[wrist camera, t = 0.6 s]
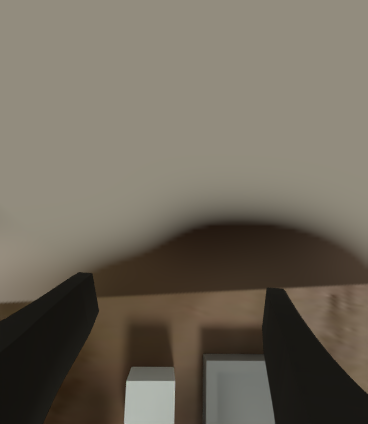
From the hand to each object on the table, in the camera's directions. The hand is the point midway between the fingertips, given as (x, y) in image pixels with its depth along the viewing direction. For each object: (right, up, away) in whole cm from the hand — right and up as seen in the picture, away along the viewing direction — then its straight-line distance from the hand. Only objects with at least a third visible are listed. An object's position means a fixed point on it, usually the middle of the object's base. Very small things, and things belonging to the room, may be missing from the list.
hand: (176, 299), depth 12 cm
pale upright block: (-3, -18, +23) cm, 30 cm away
